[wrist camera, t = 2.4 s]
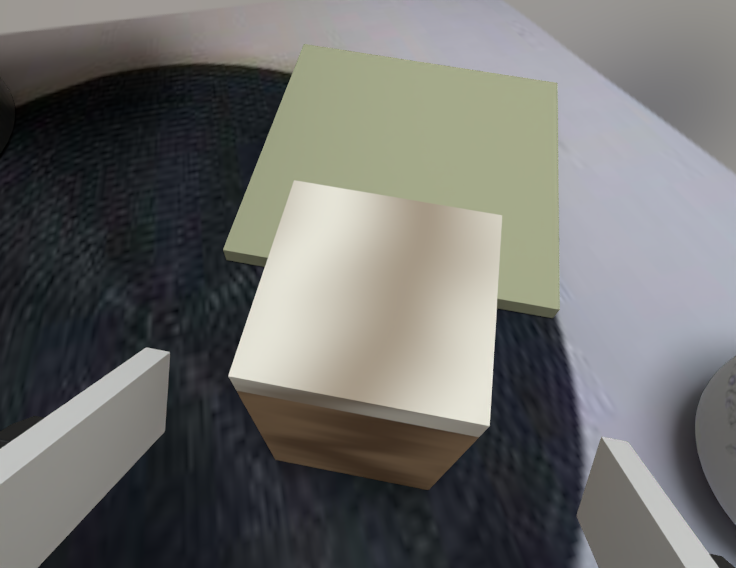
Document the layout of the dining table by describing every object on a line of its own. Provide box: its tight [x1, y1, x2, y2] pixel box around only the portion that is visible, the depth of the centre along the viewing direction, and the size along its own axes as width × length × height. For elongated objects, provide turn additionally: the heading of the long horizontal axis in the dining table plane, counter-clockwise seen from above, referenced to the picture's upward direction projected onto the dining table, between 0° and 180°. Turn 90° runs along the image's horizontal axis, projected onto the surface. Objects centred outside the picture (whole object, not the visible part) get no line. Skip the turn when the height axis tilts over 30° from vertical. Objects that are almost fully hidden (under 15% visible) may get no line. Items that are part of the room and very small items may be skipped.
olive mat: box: [223, 44, 560, 318], centre depth 32 cm, size 18×18×1 cm
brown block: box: [228, 180, 502, 490], centre depth 20 cm, size 7×7×11 cm
